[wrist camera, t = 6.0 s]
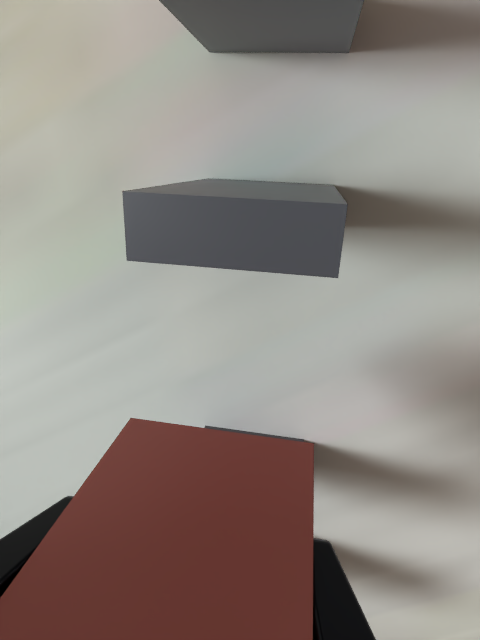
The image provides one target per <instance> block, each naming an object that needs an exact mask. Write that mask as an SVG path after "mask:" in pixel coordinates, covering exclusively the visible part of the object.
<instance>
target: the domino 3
mask: <svg viewBox="0 0 480 640" xmlns="http://www.w3.org/2000/svg"><path fill="white" fill-rule="evenodd" d="M313 501H314V443H307V442H300V441H292V440H285V439H278V438H271V437H264V436H257V435H250V434H242V433H235V432H228V431H221V430H214V429H207V428H199V427H192V426H185V425H178V424H171V423H164V422H156V421H149V420H142V419H135V418H130V420H129V421H128V423H127V424H126V425H125V427H124V428H123V429H122V431H121V432H120V434H119V435H118V436H117V438H116V439H115V441H114V442H113V443H112V445H111V446H110V447H109V449H108V450H107V452H106V453H105V454H104V456H103V457H102V458H101V460H100V461H99V463H98V464H97V465H96V467H95V468H94V469H93V471H92V472H91V474H90V475H89V476H88V478H87V479H86V480H85V482H84V483H83V485H82V486H81V487H80V489H79V490H78V492H77V493H76V494H75V496H74V497H73V498H72V500H71V501H70V503H69V504H68V505H67V507H66V508H65V509H64V511H63V512H62V514H61V515H60V516H59V518H58V519H57V520H56V522H55V523H54V525H53V526H52V527H51V529H50V530H49V532H48V533H47V534H46V536H45V537H44V538H43V540H42V541H41V543H40V544H39V545H38V547H37V548H36V549H35V551H34V552H33V554H32V555H31V556H30V558H29V559H28V560H27V562H26V563H25V565H24V566H23V567H22V569H21V570H20V572H19V573H18V574H17V576H16V577H15V578H14V580H13V581H12V583H11V584H10V585H9V587H8V588H7V589H6V591H5V592H4V594H3V595H2V596H1V598H0V640H313Z"/></svg>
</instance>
